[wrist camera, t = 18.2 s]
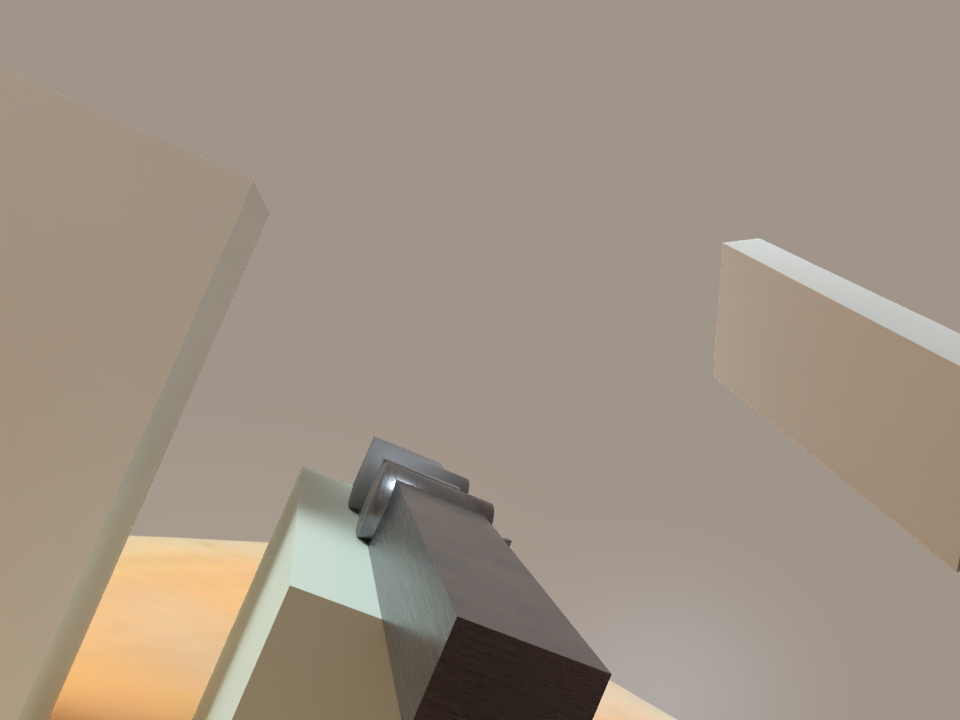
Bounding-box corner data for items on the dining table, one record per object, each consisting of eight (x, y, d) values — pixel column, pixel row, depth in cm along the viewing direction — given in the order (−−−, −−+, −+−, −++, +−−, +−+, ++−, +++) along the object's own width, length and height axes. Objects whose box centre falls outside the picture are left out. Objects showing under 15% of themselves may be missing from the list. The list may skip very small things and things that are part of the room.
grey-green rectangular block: (357, 1203, 29) (615, 594, 29) (53, 1131, 27) (333, 483, 28) (340, 822, 51) (489, 475, 51) (170, 768, 49) (326, 408, 49)
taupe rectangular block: (-47, 866, 36) (254, 180, 36) (-370, 774, 33) (-43, 46, 34) (44, 728, 47) (269, 213, 48) (-191, 654, 45) (49, 115, 46)
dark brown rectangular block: (580, 798, 21) (636, 665, 21) (384, 731, 20) (444, 592, 20) (455, 565, 41) (485, 496, 41) (354, 525, 40) (384, 455, 40)
